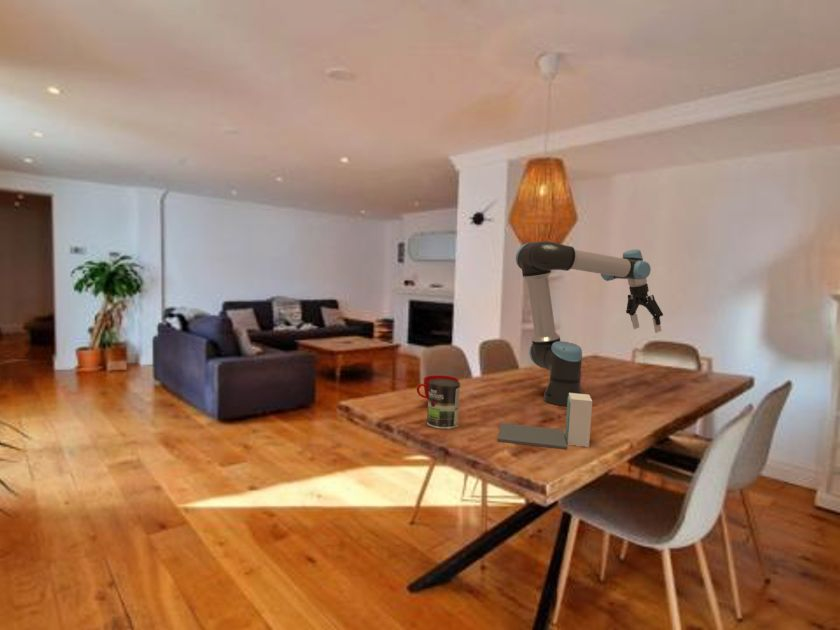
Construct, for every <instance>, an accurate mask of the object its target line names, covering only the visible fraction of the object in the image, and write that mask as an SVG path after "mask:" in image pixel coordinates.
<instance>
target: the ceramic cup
mask: <svg viewBox="0 0 840 630" xmlns="http://www.w3.org/2000/svg"><path fill="white" fill-rule="evenodd" d="M432 379H450V380H455V381H458V382H460V381H459V379H458V378H457V377H453V376H450V375H449V376H448V375H428V376H425V377H424V378H423V383H420V384H418V385H417V387H416V392H417V394H418V396H419V397H421V398H424V399H426V400H428V395H429V381H430V380H432ZM421 387H423V389H424V390H423V391H424V395H423V394H422V393H421V392H420V388H421Z"/></svg>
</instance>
